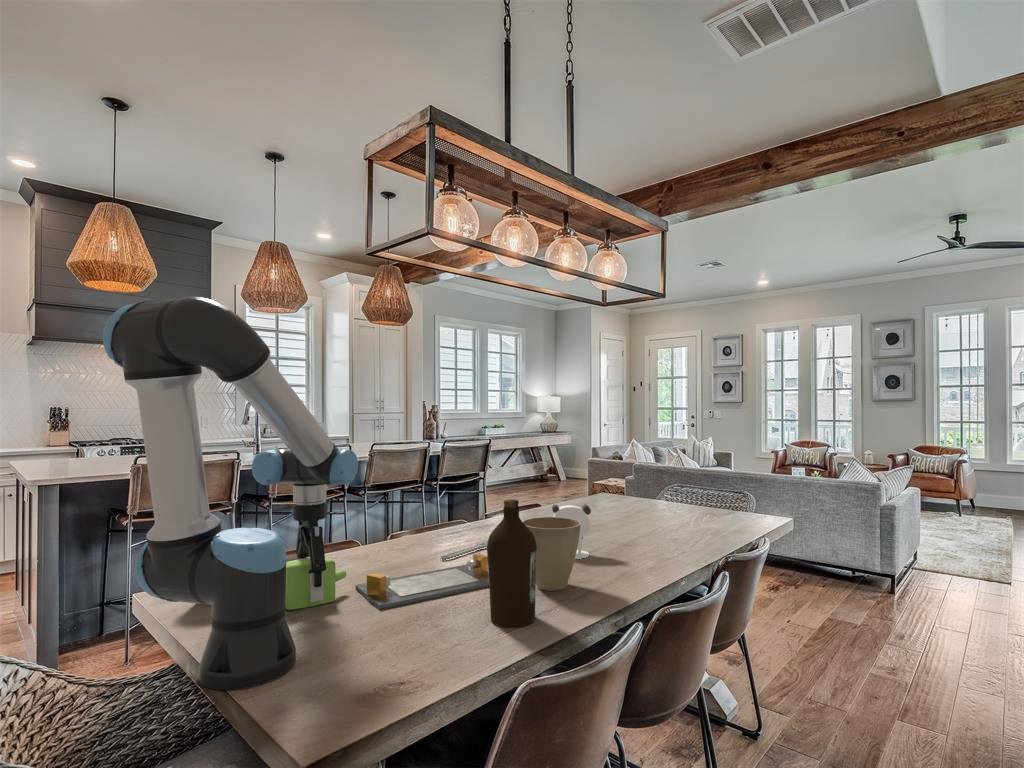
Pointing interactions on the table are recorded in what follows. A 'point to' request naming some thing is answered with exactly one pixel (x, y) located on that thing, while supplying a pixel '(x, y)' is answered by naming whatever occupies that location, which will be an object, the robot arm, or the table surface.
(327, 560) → the green block with lugs
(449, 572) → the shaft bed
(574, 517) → the panda figurine
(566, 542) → the plant pot
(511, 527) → the olive oil
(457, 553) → the adjustable wrench
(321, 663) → the table surface
